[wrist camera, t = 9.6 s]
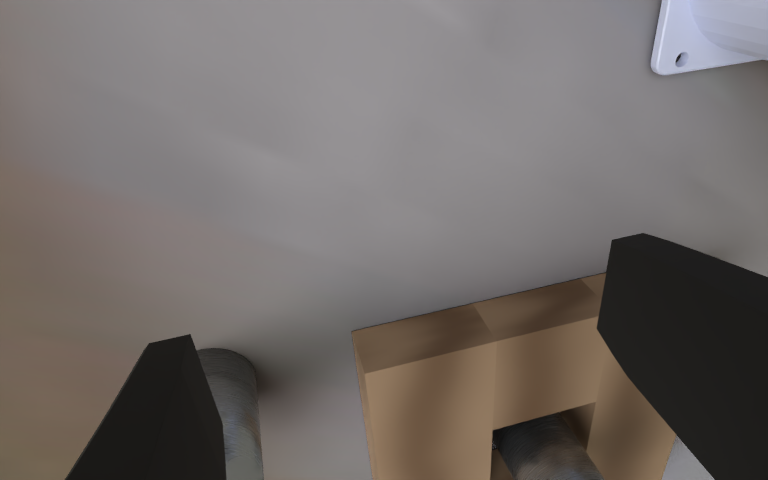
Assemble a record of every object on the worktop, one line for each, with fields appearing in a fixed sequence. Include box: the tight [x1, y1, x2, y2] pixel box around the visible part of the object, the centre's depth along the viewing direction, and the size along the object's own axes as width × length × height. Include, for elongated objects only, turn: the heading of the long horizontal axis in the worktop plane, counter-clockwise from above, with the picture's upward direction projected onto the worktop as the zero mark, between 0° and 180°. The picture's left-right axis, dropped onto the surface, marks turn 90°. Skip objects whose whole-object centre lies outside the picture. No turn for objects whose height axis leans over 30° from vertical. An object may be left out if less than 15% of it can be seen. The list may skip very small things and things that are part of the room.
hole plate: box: [352, 273, 676, 480], centre depth 27 cm, size 16×16×2 cm
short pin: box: [197, 348, 264, 480], centre depth 20 cm, size 4×4×5 cm
